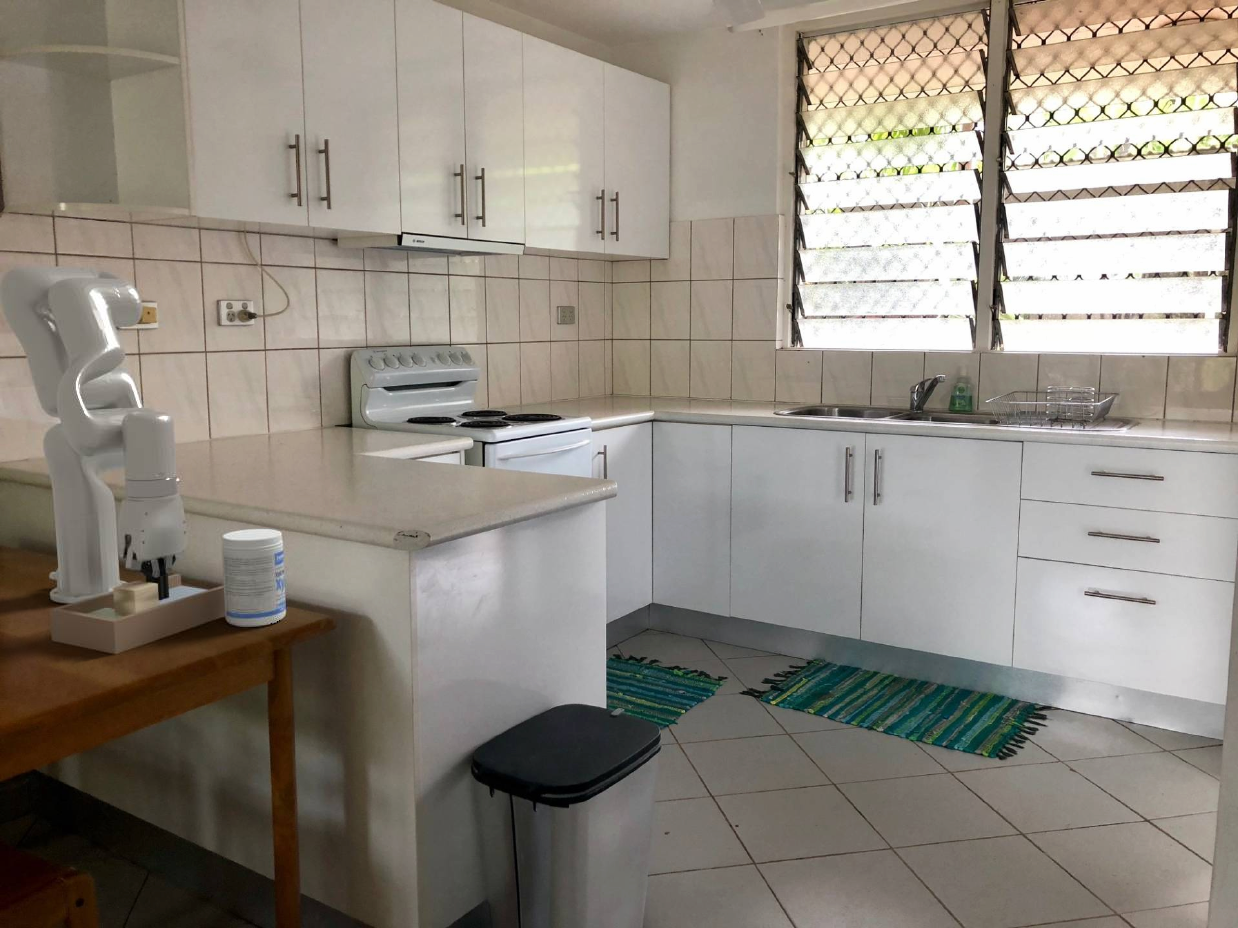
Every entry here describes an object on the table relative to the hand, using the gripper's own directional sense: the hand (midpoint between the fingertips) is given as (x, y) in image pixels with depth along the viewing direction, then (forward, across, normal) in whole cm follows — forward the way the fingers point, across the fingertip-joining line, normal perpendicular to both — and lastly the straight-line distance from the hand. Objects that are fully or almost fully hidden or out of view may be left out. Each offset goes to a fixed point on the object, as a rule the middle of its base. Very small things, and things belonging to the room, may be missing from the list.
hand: (158, 598), depth 159 cm
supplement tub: (+4, -8, +13) cm, 16 cm away
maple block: (+1, +4, 0) cm, 5 cm away
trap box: (+4, +2, 0) cm, 5 cm away
